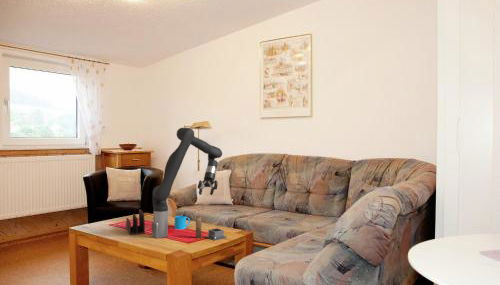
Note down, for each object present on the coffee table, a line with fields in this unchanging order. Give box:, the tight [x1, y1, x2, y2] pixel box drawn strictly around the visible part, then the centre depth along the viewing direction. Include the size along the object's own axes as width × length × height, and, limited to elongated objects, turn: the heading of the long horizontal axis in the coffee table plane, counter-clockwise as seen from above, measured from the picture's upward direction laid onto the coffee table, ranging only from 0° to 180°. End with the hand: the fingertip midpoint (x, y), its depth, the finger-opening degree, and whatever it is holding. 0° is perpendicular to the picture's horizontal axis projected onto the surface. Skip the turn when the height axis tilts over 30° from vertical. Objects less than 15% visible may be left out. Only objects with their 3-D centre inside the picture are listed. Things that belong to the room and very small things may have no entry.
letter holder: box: [125, 209, 146, 236], centre depth 261 cm, size 10×20×14 cm, turn 25°
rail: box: [195, 215, 203, 239], centre depth 246 cm, size 4×4×14 cm
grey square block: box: [205, 227, 228, 241], centre depth 247 cm, size 10×10×5 cm
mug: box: [174, 215, 191, 230], centre depth 273 cm, size 12×8×8 cm
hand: (205, 194), depth 261 cm, fingers open, 8 cm apart
